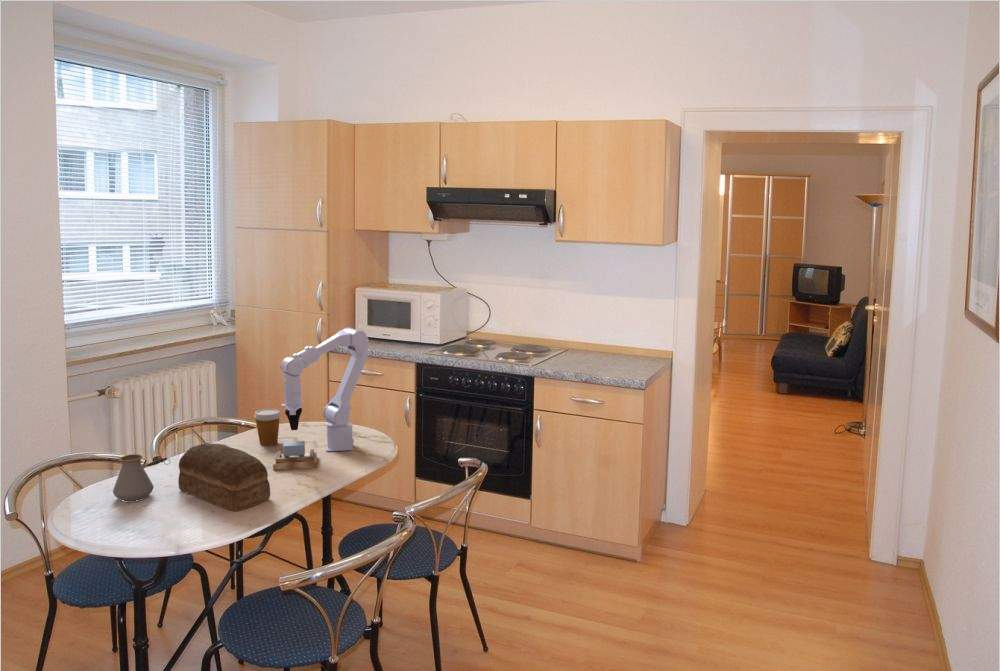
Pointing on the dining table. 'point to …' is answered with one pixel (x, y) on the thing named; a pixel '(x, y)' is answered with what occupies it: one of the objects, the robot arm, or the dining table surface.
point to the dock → (295, 461)
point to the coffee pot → (133, 478)
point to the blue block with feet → (294, 449)
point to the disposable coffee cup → (267, 426)
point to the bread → (223, 476)
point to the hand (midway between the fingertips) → (294, 429)
